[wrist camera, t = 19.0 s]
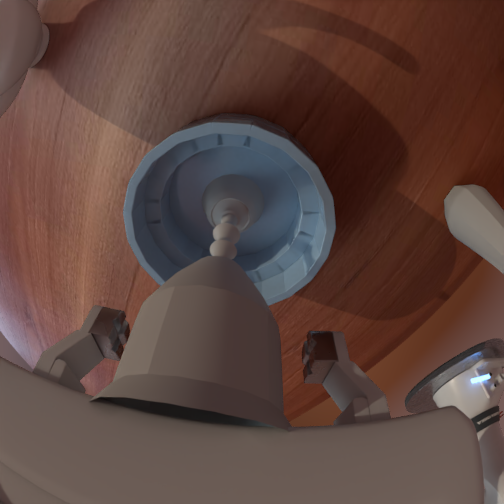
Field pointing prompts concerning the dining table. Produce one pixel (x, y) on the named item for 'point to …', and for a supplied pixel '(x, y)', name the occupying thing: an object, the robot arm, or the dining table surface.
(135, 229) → the bowl
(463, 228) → the salt shaker
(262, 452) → the robot arm
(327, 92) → the dining table surface
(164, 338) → the chalice
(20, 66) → the teapot
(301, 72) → the dining table surface
